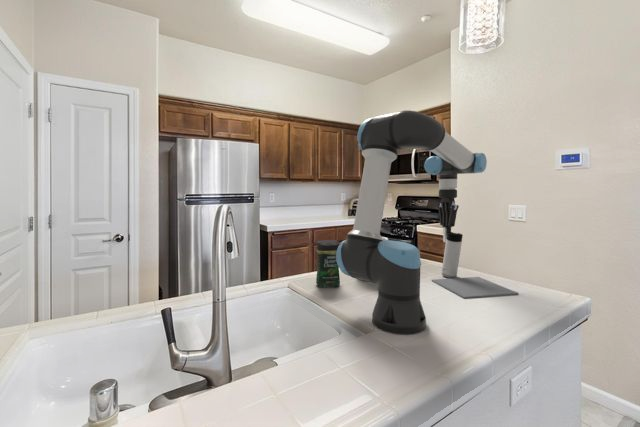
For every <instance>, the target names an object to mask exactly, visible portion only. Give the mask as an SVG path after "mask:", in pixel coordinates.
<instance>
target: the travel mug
mask: <svg viewBox="0 0 640 427" xmlns="http://www.w3.org/2000/svg"><path fill="white" fill-rule="evenodd" d="M462 242H463V234H462V233H459V232H457V233H456V232H452V231H451V232H447V238H446V242H445V246H444V254H443V261H442V267H441V268H442V269H441V275H442V276H443V277H444V278H447V279H451V278H457V276H458V269H459V262H460V255H461V250H462Z"/></svg>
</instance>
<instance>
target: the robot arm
mask: <svg viewBox="0 0 640 427" xmlns="http://www.w3.org/2000/svg"><path fill="white" fill-rule="evenodd" d="M356 138H357V143H358V144H357V145H358V148H359V150H361V155H362V156H363V158H364V166H363V172H362V177H361V181H360V182H361V183H360V187H359V192H358V198H357V199H358V200H357V205H356V210H355V217H354V223H353V228H352V230H350V231H348V233H347V237H346V239H345V240H343V241H341V242H340V244H339V246H338V249H337V253H336V260H337V264H338V267H339V271H340V272H341V273H343V274H344V275H346V276H348V277H350V278H353V279H358V280H360V279H362V280H361V281H364V280H366V281H367V282H372V283H374V284H375V283H376V284H377V286H378V291H377V292H378V294H377V299H376V302H375V305H374V307H373V310H372V317H371V323H372V324H373V326H374V327H375V328H377V329H378V330H381V331H383V332H386V333H390V334H395V335H414V334H418V333H421V332H423V331H424V330H425V329H426V328H427V318H426V317H427V316H426V314H425V311H424V308H423V305H422V301H421V265H422V261H421V253H420V250H419V248H417V246H415V245H413V244H412V243H409V242H404V241H399V240H392V239H391V240H390V239H388V240H387V241H383V238H382V237H383V236H382V235H381V228H382V220H383V215H384V210H385V209H384V208H385V202H386V197H387V191H388V185H389V184H388V183H389V178H390V172H391V167H392V166H391V165H392V162H394V161H395V160H397V159H398V151H399V150H405V149H420V150H423V151H425V152H431V153H433V154H434V155H432V156H429V157H428V158H426V160H425V161H424V165H423V167H424V170H425V172H426V173H427V174H428V175H429V174H430V175H432V176H438V198H439V199H440V203H438V204H437V210H438V217H439V225H440V226H442V228H443V229H442V234H443V235H442V241H443V243H446V238H447V232H452V228H453V227H455V225H456V219H457V213H458V209H459V207H460V206H459V205H458V204H456V201H455V199H456V198H457V197H458V190H457V189H458V175H462V174H463V175H464V174H466V175H467V174H480V173H483V172H485V171H486V169H487V164H488V163H487V162H488V161H487V157H486V156H487V155H486V154H485V153H483V152H475V153H474V152H472V151H471V150H469V149H468V148H467V147H466V146H464V145H463V144H462V143H460V142H459V141H458V140H457V139H456V138H454V137H453V136H452V135H451V134H449V133H448V132H447V131H446V128H445V126H444V124H442V123H441V122H440V121H439V120H438V119H435V118H434V117H432V116H430V115H428V114H426V113H422V112H419V111H417V110H416V111H415V110H410V109H409V110H400V111H397V112H392V113H387V114H384V115H375V116H373V117H370V118H367V119H366V120H364V121H363V122H362V123H361V125H360V126H359V128H358V131H357V136H356ZM366 281H365V282H366Z"/></svg>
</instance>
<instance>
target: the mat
mask: <svg viewBox="0 0 640 427" xmlns="http://www.w3.org/2000/svg"><path fill="white" fill-rule="evenodd" d="M431 282H433V283H434V284H436V285H437V286H440V287H441V288H444V289H445V290H448V291H449V292H451V293H452V294H455V295H456V296H458V297H460V298H462V299H475V298H490V297H493V298H494V297H501V296H502V297H505V296H515V295H516V296H519V292H517V291H514V290H513V289H509V288H507V287H505V286H503V285H499V284H497V283H495V282H493V281H491V280H487V279H485V278H483V277H480V276H471V277H469V276H468V277H455V278H437V279H435V278H434V279H431Z"/></svg>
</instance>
